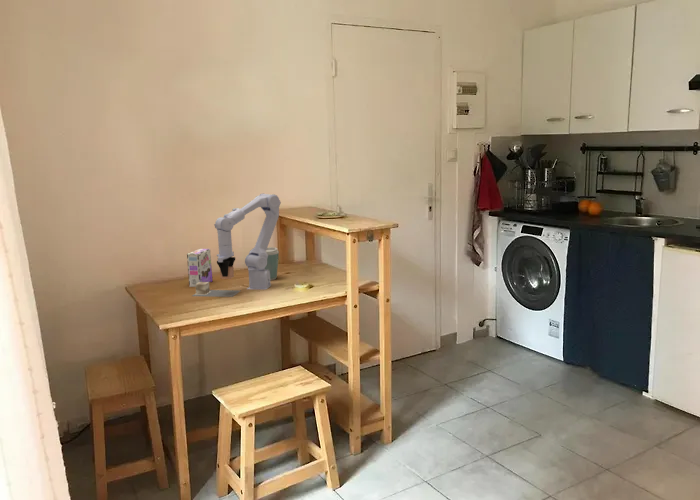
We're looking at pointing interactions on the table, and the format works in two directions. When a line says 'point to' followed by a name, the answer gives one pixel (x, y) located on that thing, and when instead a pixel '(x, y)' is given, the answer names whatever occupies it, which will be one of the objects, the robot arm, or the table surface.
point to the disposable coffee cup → (272, 262)
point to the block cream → (202, 288)
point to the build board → (220, 293)
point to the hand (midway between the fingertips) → (227, 275)
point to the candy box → (199, 266)
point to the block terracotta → (230, 273)
